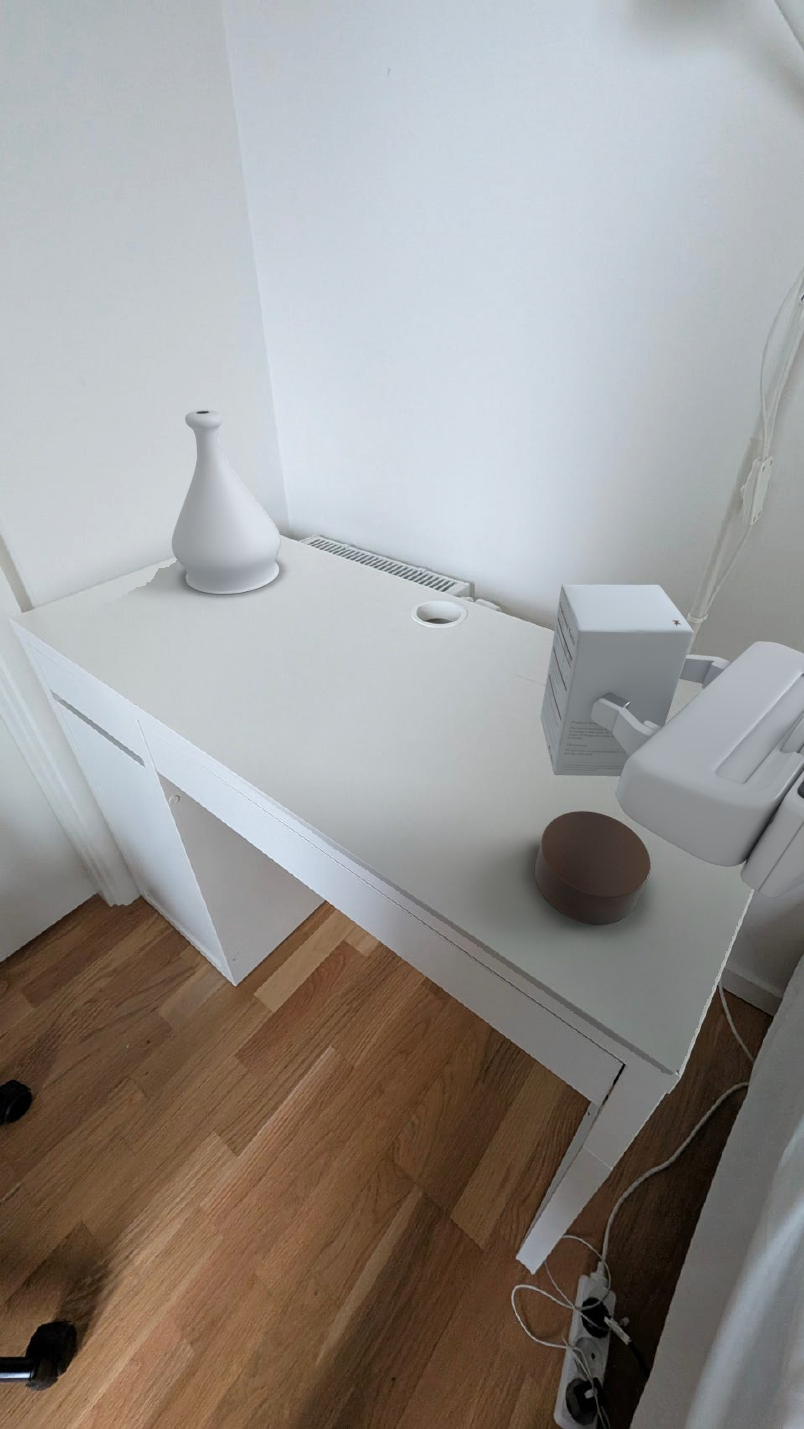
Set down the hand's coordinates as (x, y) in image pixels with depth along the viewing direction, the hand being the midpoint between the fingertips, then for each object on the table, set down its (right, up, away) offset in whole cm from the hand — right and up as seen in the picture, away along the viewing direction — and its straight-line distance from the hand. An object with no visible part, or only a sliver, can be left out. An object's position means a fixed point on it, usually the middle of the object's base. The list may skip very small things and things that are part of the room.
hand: (628, 680), depth 41 cm
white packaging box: (-1, -5, +5) cm, 8 cm away
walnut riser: (0, -17, +10) cm, 20 cm away
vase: (-45, +22, +58) cm, 77 cm away
